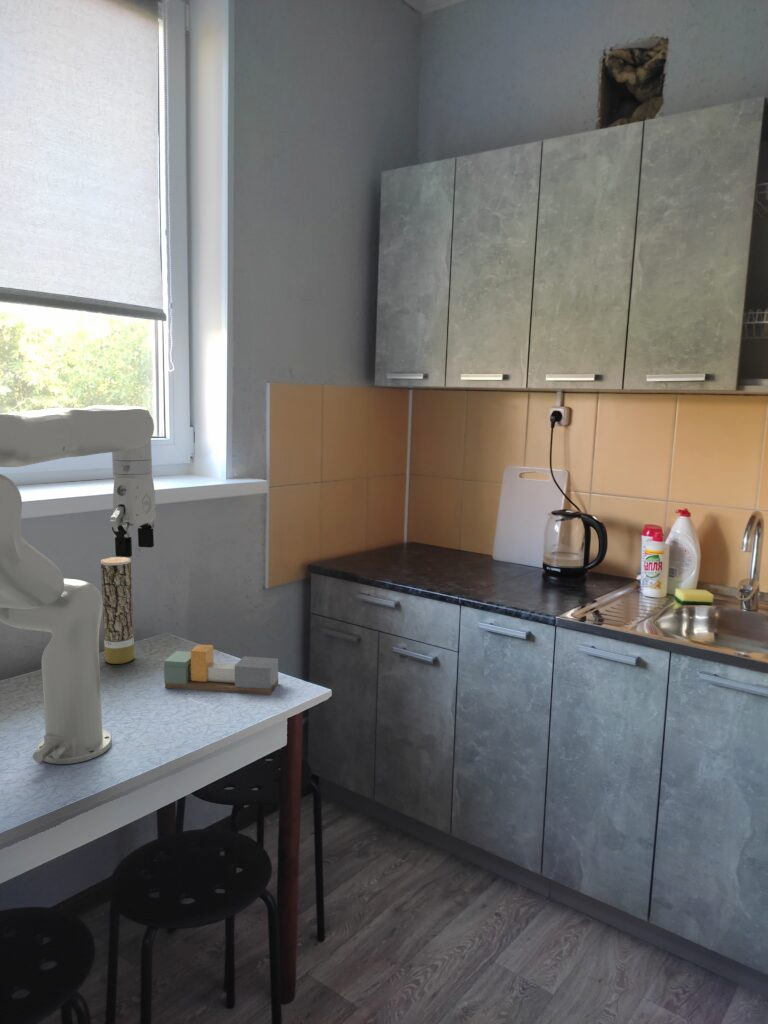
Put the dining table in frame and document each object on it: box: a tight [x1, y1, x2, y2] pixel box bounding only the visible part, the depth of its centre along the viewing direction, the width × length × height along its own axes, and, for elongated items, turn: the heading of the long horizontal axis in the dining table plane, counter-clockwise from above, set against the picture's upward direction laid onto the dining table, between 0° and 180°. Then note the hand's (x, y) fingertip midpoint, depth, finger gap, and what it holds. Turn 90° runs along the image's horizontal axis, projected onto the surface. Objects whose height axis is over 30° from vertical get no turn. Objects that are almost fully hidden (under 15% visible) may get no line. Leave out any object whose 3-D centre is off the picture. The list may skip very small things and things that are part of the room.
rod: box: [188, 643, 237, 683], centre depth 164 cm, size 4×15×7 cm, turn 82°
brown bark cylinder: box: [100, 556, 135, 665], centre depth 177 cm, size 7×7×25 cm
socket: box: [163, 650, 191, 684], centre depth 165 cm, size 7×5×5 cm
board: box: [164, 679, 279, 696], centre depth 164 cm, size 7×24×1 cm, turn 82°
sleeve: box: [235, 655, 279, 689], centre depth 163 cm, size 6×8×5 cm
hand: (135, 551), depth 150 cm, fingers open, 9 cm apart
